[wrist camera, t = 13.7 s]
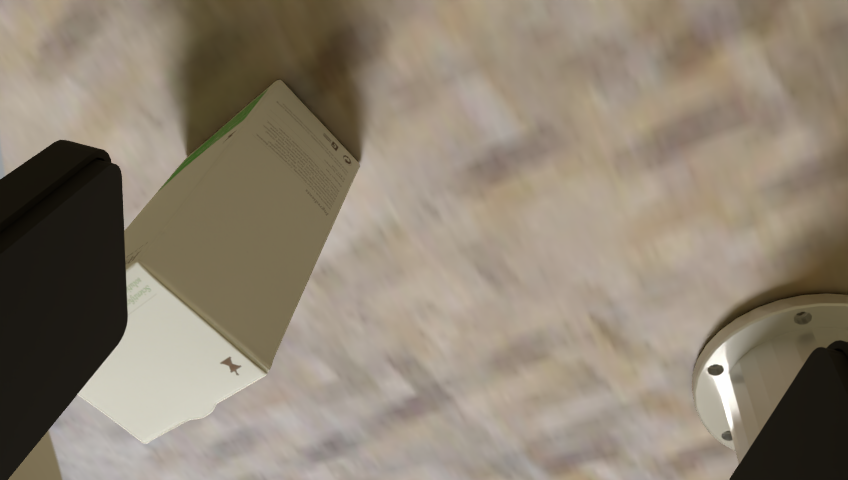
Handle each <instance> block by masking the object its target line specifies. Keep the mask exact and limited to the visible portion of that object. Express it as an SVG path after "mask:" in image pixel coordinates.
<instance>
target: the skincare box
mask: <svg viewBox="0 0 848 480" xmlns="http://www.w3.org/2000/svg"><path fill="white" fill-rule="evenodd" d="M359 168H360V164H359V163H358V162H357V161H356V159H355V158H354V157H353V156H352V155H351V154H350V153H349V152H348V151H347V150H346V149H345V148H344V147H343V146H342V144H341V143H340V142H339V141H338V140H337V139H336V138H335V137H334V136H333V135H332V134H331V133H330V132H329V130H328V129H327V128H326V127H325V126H324V125H323V124H322V123H321V122H320V121H319V120H318V119H317V118H316V117H315V116H314V115H313V113H312V112H311V111H310V110H309V109H308V108H307V107H306V106H305V105H304V104H303V103H302V102H301V101H300V100H299V99H298V98H297V96H296V95H295V94H294V93H293V92H292V91H291V90H290V89H289V88H288V87H287V86H286V85H285V84H284V82H283V81H281V80H277V81H275V82H274V83H273V84H272V85H271V86H269V87H268V88H267V89H266V90H265V91H264V92H262V93H261V94H260V95H259V96H258V97H256V98H255V99H254V100H253V101H252V102H250V103H249V104H248V105H247V106H246V107H245V108H244V109H242V110H241V111H240V112H239V113H238V114H237V115H236V116H234V117H233V118H232V119H231V120H230V121H229V122H228V123H226V124H225V125H224V126H223V127H222V128H221V129H220V130H218V131H217V132H216V133H215V134H214V135H213V136H212V137H210V138H209V139H208V140H207V141H206V142H205V143H203V144H202V145H201V146H200V147H199V148H197V149H196V150H195V151H194V152H193V153H191V154H190V155H189V156H188V157H187V158H186V159H185V160H184V161H183V162H182V163H181V165H180V166H179V167H178V168H177V169H176V170H175V172H174V173H173V174H172V175H171V176H170V178H169V179H168V180H167V181H166V182H165V184H164V185H163V186H162V187H161V188H160V190H159V191H158V192H157V193H156V194H155V195H154V197H153V198H152V199H151V200H150V201H149V203H148V204H147V205H146V206H145V207H144V208H143V210H142V211H141V212H140V213H139V214H138V216H137V217H136V218H135V219H134V220H133V221H132V223H131V224H130V225H129V226H128V227H127V229H126V230H125V231H124V240H125V263H126V286H127V309H128V322H127V327H126V330H125V333H124V335H123V337H122V339H121V341H120V342H119V344H118V345H117V346H116V348H115V349H114V350H113V351H112V353H111V354H110V355H109V356H108V357H107V359H106V360H105V361H104V362H103V364H102V365H101V366H100V367H99V369H98V370H97V371H96V372H95V373H94V375H93V376H92V377H91V378H90V380H89V381H88V382H87V383H86V384H85V386H84V387H83V388H82V389H81V391H80V392H79V393H78V394H77V395H78V396H80V397H81V398H83V399H84V400H85V401H87V402H88V403H90V404H91V405H92V406H94V407H95V408H97V409H98V410H99V411H101V412H102V413H103V414H105V415H106V416H107V417H109V418H110V419H112V420H113V421H114V422H116V423H117V424H118V425H120V426H121V427H122V428H124V429H125V430H126V431H128V432H129V433H130V434H131V435H133V436H134V437H135V438H137V439H138V440H139V441H141V442H142V443H144V444H147V443H149V442H150V441H151V440H153V439H155V438H157V437H159V436H161V435H162V434H164V433H166V432H168V431H170V430H172V429H174V428H175V427H177V426H179V425H181V424H183V423H185V422H186V421H188V420H195V419H200V418H203V417H205V416H207V415H209V414H210V413H211V412H212V411H213V410H214V408H215V406H216V404H218V403H219V402H221V401H223V400H225V399H226V398H228V397H230V396H232V395H233V394H235V393H237V392H239V391H240V390H242V389H244V388H245V387H247V386H249V385H251V384H252V383H254V382H256V381H257V380H259V379H261V378H263V377H264V376H266V375H267V373H268V372H269V370H270V368H271V366H272V362H273V359H274V357H275V354H276V352H277V350H278V347H279V345H280V343H281V341H282V338H283V336H284V334H285V332H286V329H287V327H288V325H289V323H290V320H291V318H292V316H293V313H294V311H295V309H296V307H297V304H298V302H299V300H300V298H301V295H302V293H303V291H304V289H305V286H306V284H307V282H308V280H309V277H310V275H311V273H312V271H313V268H314V266H315V264H316V262H317V259H318V257H319V255H320V253H321V251H322V248H323V246H324V244H325V242H326V240H327V237H328V235H329V233H330V231H331V229H332V226H333V224H334V222H335V220H336V217H337V215H338V213H339V211H340V209H341V206H342V204H343V202H344V200H345V197H346V195H347V193H348V191H349V189H350V186H351V184H352V182H353V180H354V178H355V176H356V174H357V171H358V170H359Z"/></svg>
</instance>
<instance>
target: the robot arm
mask: <svg viewBox="0 0 848 480" xmlns="http://www.w3.org/2000/svg"><path fill="white" fill-rule="evenodd" d="M127 322H128V309H127V286H126V263H125V240H124V217H123V195H122V175H121V170H120V168H119V166H117V165H116V164H113V163H111V159H110V157H109V154H108V153H107V152H106V151H104V150H102V149H98V148H94V147H90V146H86V145H82V144H79V143H75V142H71V141H67V140H59V141H57V142H54V143H53V144H51V145H50V146H48V147H47V148H46V149H44V150H43V151H41V152H40V153H38V154H37V155H35V156H34V157H32V158H31V159H30V160H28V161H27V162H25V163H24V164H22V165H21V166H19V167H18V168H16V169H15V170H13V171H12V172H11V173H9V174H8V175H6V176H5V177H3V178H2V179H0V480H8V479H9V477H10V476H11V475H12V474H13V472H14V471H15V470H16V469H17V468H18V466H19V465H20V464H21V463H22V462H23V460H24V459H25V458H26V457H27V455H28V454H29V453H30V452H31V451H32V449H33V448H34V447H35V446H36V444H37V443H38V442H39V441H40V440H41V438H42V437H43V436H44V435H45V433H46V432H47V431H48V430H49V429H50V427H51V426H52V425H53V424H54V422H55V421H56V420H57V419H58V417H59V416H60V415H61V414H62V413H63V411H64V410H65V409H66V408H67V406H68V405H69V404H70V403H71V402H72V400H73V399H74V398H75V397H76V395H77V394H78V393H79V392H80V391H81V389H82V388H83V387H84V386H85V384H86V383H87V382H88V381H89V380H90V378H91V377H92V376H93V375H94V373H95V372H96V371H97V370H98V369H99V367H100V366H101V365H102V364H103V362H104V361H105V360H106V359H107V357H108V356H109V355H110V354H111V353H112V351H113V350H114V349H115V348H116V346H117V345H118V344H119V342H120V341H121V339H122V337H123V335H124V333H125V330H126V327H127ZM692 393H693V398H694V404H695V408H696V410H697V413H698V416H699V418H700V420H701V422H702V423H703V425H704V426H705V427H706V429H707V430H708V432H709V433H710V434H711V435H712V436H713V437H715V438H716V439H717V440H718V441H719V442H720V443H722V444H724V445H725V446H727V447H729V448H730V449H732V450H734V451H735V452H736V455H737V458H738V462H739V465H738V467H737V468H736V470H735V471H734V473H733V475H732V476H731V478H730V480H848V295H842V294H828V293H827V294H812V295H801V296H796V297H791V298H787V299H782V300H778V301H775V302H772V303H769V304H766V305H763V306H761V307H758V308H755V309H753V310H752V311H750V312H748V313H746V314H744V315H742V316H740V317H738V318H736V319H735V320H734V321H732V322H731V323H730V324H728V325H727V326H725V327H724V328H723V329H721V330H720V331H719V332H718V333H717V334H716V335H715V336H714V337H713V338H712V339H711V340H710V342H709V343H708V344H707V345H706V346H705V348H704V350H703V351H702V353H701V354H700V356H699V358H698V359H697V362H696V365H695V368H694V371H693V374H692Z"/></svg>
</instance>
